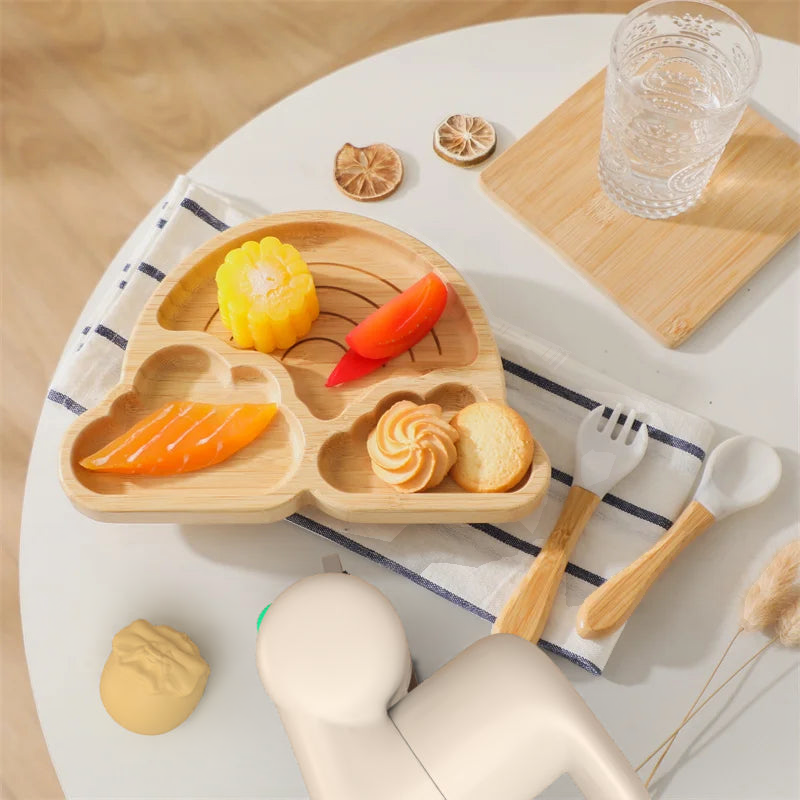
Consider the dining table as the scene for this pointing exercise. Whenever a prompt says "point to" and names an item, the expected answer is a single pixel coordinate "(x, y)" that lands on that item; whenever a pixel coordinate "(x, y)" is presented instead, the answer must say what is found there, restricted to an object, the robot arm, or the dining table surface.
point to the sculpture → (152, 678)
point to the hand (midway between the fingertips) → (368, 680)
